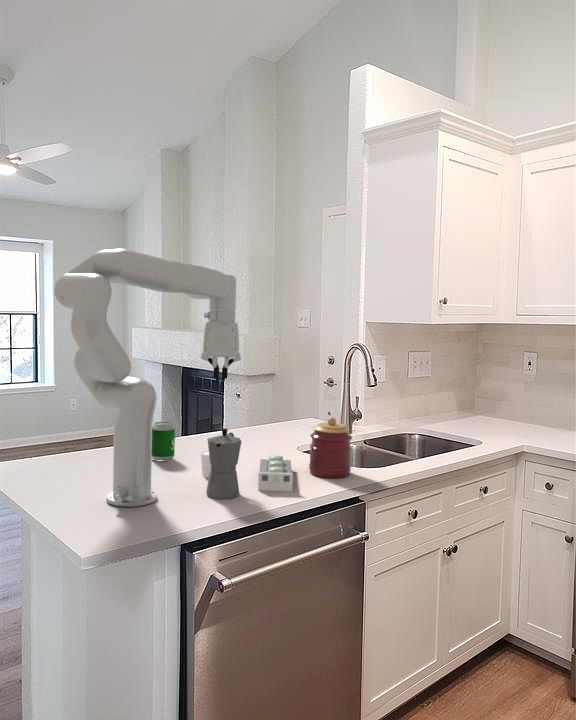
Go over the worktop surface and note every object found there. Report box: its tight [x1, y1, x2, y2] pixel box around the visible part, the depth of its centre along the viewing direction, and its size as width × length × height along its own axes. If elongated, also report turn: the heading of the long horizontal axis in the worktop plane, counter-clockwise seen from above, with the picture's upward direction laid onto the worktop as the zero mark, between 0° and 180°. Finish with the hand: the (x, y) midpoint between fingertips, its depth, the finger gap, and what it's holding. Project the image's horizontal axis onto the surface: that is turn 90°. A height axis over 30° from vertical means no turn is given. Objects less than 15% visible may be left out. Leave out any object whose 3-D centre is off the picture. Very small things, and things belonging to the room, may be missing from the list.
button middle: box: [268, 461, 283, 468], centre depth 181 cm, size 4×4×3 cm
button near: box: [268, 467, 284, 473], centre depth 174 cm, size 4×4×3 cm
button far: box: [268, 454, 284, 462], centre depth 188 cm, size 4×4×3 cm
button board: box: [257, 458, 294, 492], centre depth 181 cm, size 24×10×5 cm, turn 1°
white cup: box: [200, 450, 211, 479], centre depth 182 cm, size 7×7×7 cm
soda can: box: [152, 421, 176, 461], centre depth 199 cm, size 8×8×12 cm
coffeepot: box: [205, 428, 243, 500], centre depth 165 cm, size 15×9×18 cm, turn 171°
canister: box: [308, 417, 353, 479], centre depth 189 cm, size 13×13×18 cm
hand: (220, 380), depth 177 cm, fingers closed
